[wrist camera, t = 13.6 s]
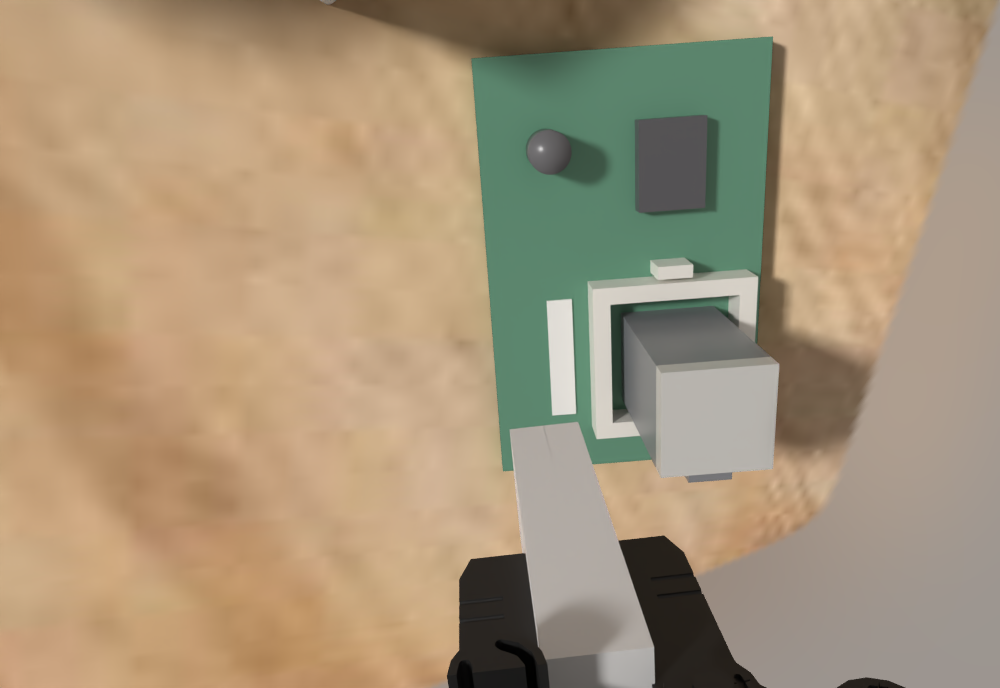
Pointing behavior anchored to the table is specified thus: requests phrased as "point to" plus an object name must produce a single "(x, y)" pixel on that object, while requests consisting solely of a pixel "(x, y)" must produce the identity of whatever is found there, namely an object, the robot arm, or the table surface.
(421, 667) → the table surface
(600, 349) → the board
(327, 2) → the light bulb box
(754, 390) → the block
